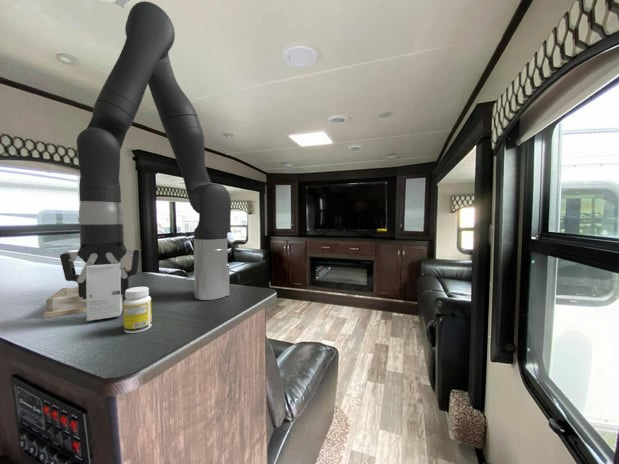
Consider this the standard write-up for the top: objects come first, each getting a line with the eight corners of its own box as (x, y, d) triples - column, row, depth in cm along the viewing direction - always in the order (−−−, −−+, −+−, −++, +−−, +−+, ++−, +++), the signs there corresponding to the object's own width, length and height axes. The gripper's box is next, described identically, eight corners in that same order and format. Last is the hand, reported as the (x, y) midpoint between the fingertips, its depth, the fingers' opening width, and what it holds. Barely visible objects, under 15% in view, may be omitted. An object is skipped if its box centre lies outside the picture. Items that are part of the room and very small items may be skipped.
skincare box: (86, 322, 52) (83, 266, 52) (90, 315, 56) (87, 263, 56) (122, 316, 56) (120, 263, 55) (123, 309, 60) (121, 260, 59)
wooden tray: (117, 295, 72) (117, 282, 72) (110, 308, 62) (109, 293, 62) (61, 302, 66) (60, 288, 66) (42, 318, 56) (42, 300, 55)
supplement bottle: (135, 323, 53) (134, 285, 53) (156, 324, 53) (156, 286, 53) (117, 333, 49) (116, 292, 48) (141, 334, 48) (140, 292, 48)
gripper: (142, 222, 62) (144, 287, 63) (63, 222, 54) (67, 296, 55) (139, 222, 55) (142, 295, 56) (50, 223, 48) (55, 306, 49)
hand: (105, 295), depth 56 cm, fingers closed on skincare box, 6 cm apart
